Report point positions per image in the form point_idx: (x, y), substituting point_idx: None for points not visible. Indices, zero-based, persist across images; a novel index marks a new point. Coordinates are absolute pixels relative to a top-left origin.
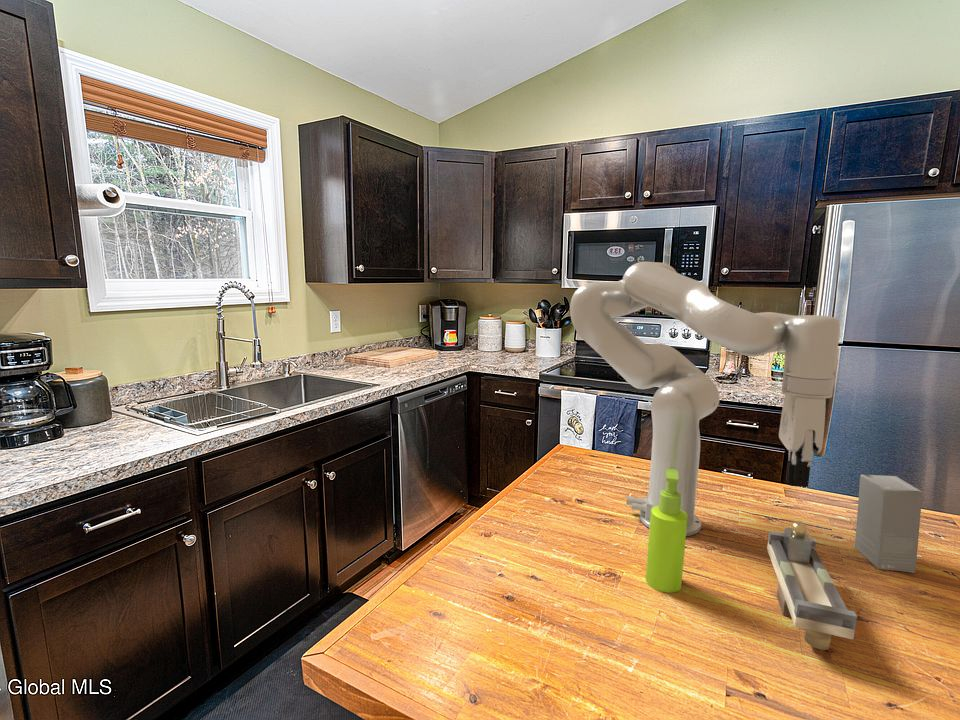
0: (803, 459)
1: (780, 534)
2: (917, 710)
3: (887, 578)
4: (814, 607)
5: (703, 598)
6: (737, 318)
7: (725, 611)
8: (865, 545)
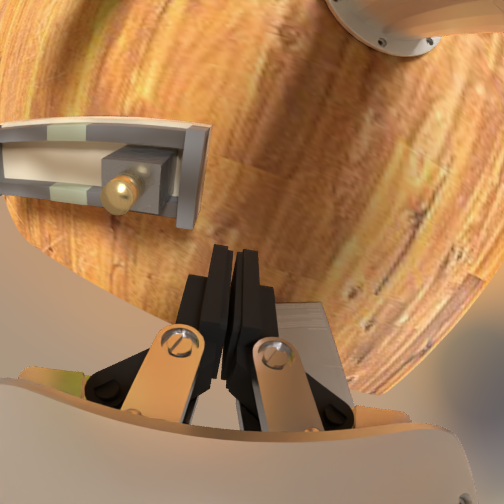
0: (26, 377)
1: (191, 155)
2: (9, 210)
3: None
4: None
5: (101, 7)
6: None
7: (76, 37)
8: (293, 315)
